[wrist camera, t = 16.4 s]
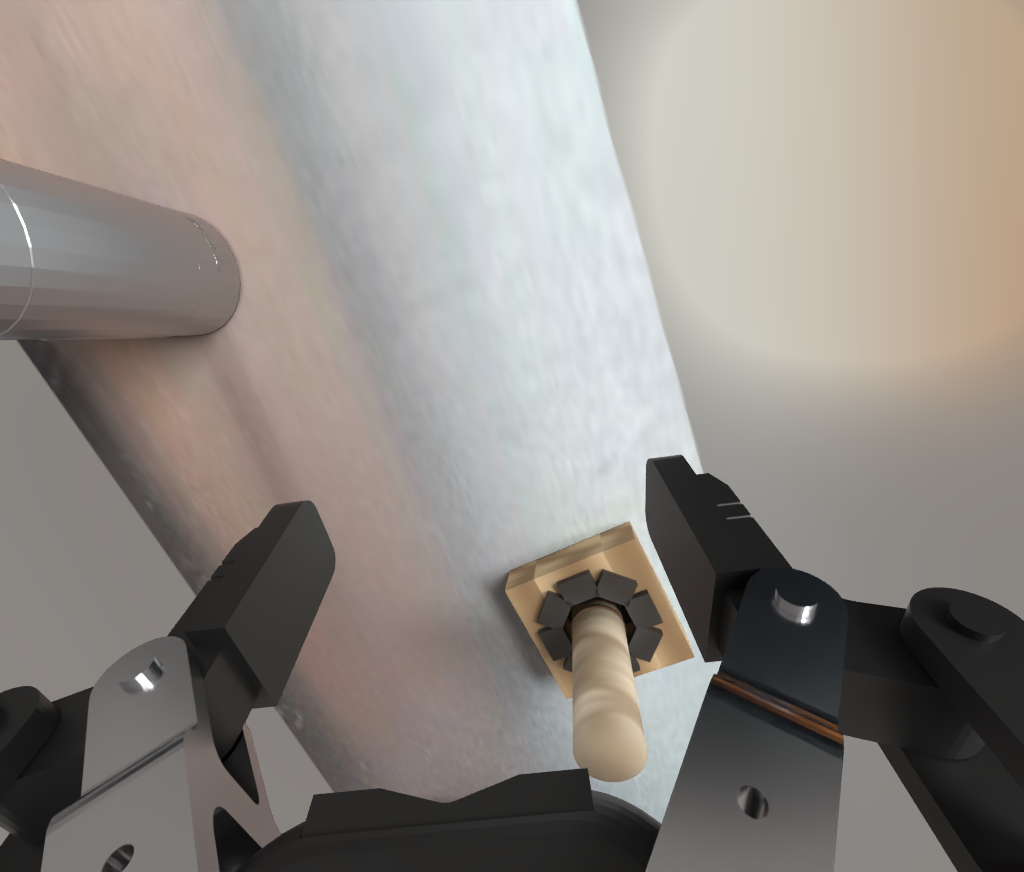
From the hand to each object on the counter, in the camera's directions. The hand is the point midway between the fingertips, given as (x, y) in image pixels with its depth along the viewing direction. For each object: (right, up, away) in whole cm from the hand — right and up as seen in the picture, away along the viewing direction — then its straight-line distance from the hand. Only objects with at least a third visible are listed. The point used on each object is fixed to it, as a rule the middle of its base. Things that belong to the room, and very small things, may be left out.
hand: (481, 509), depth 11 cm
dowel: (+8, -12, +27) cm, 31 cm away
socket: (+8, -12, +27) cm, 31 cm away
